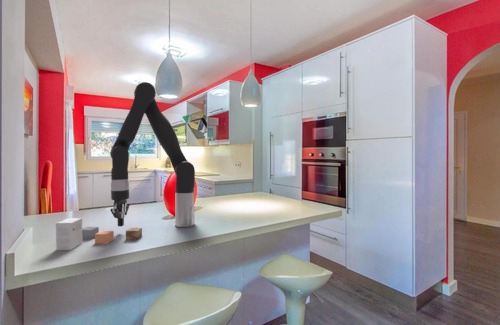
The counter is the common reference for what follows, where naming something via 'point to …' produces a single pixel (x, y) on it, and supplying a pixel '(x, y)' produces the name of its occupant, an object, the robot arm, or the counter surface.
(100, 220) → the counter surface
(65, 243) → the small box
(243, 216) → the counter surface
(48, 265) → the counter surface
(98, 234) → the terracotta block
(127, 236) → the walnut block
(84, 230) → the grey block
